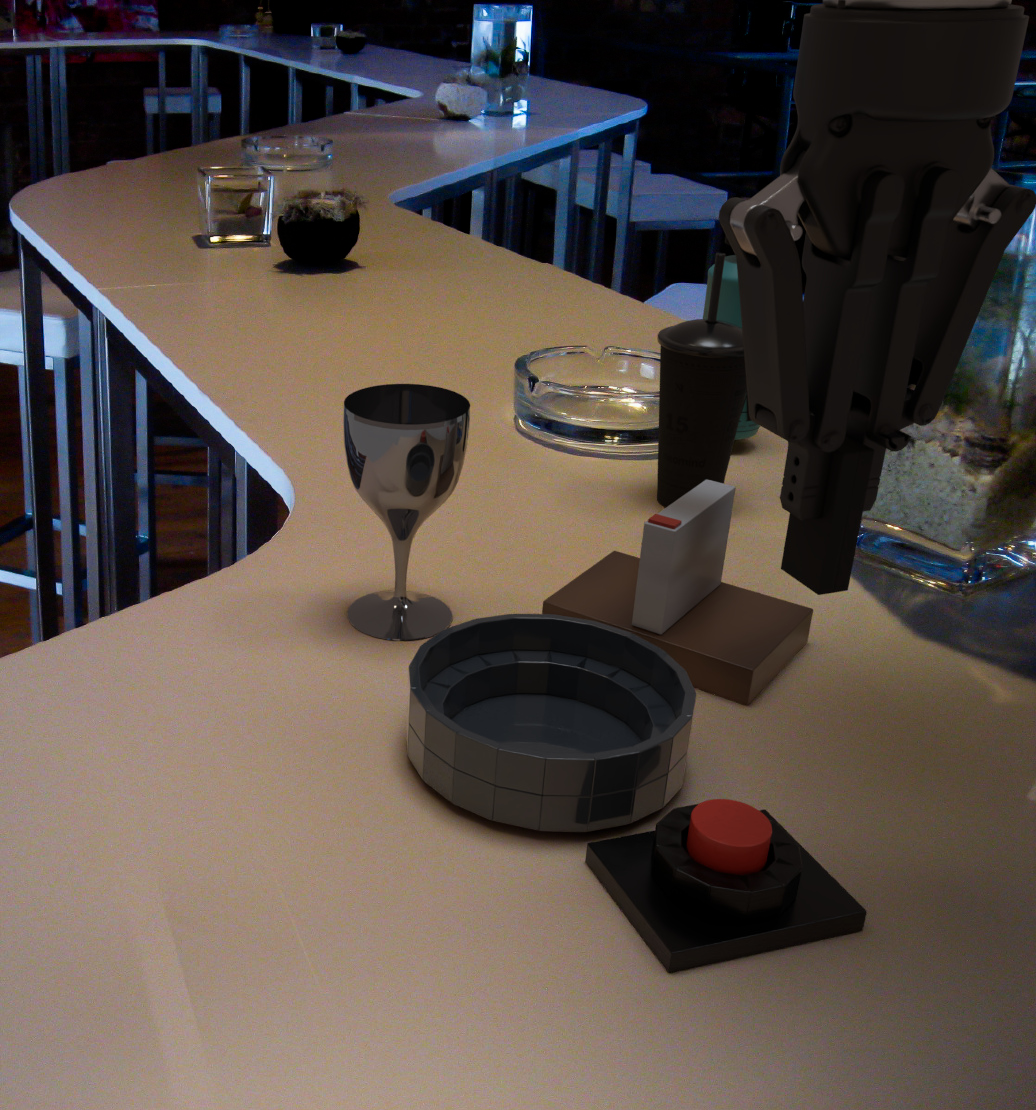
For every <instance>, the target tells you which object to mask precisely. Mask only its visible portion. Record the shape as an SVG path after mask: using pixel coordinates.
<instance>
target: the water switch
mask: <svg viewBox="0 0 1036 1110" xmlns="http://www.w3.org/2000/svg"><path fill="white" fill-rule="evenodd" d="M698 804H699V803H695V804H689V805H685V806H679V807H674V808H673V809H672V810H670V811H669V812H668V813H667V814H666V815H665V816H664V817H662V818H661V819H660V820H659V821H657V822H656V823H655V828H654V830H649V831H648V830H647V831H644V832H638V833H632V834H629V835H623V836H618V837H613V838H612V837H611V838H608V839H602V840H596V841H592V842H587V843H586V850H585V851H586V852H585V861H584V863H585V864H586V866H587V867H588V868H589V870H590V871H591V872H592V873H593V875H594V876H595V878H596V879H597V880H598V881H599V883H600V884H601V885H602V887H603V888H604V889H605V891H606V892H607V893H608V895H609V896H610V897H611V899H612V900H613V902H614V903H615V904H616V906H617V907H618V908H619V909H620V911H621V913H623V916H625V917H626V919H627V921H629V923H630V925H631V926H632V927H633V928H634V930H635V931H636V932H637V934H638V935H639V937H640V938H641V939H642V940H643V941H644V943H645V944H646V945H647V947H648V948H649V949H650V951H651V952H652V953H653V955H654V956H655V958H656V959H657V960H658V961H659V963H660V964H661V966H662V967H663V968H664V969H665V971H666V973H668V974H669V975H670V974H675V973H679V972H684V971H688V970H692V969H698V968H702V967H705V966H710V965H715V964H719V963H724V962H728V961H733V960H739V959H743V958H748V957H752V956H756V955H761V954H765V953H769V952H770V953H771V952H773V951H779V950H783V949H788V948H792V947H796V946H797V947H798V946H802V945H806V944H811V943H814V942H815V943H816V942H820V941H823V940H828V939H834V938H838V937H842V936H847V935H851V934H856V933H860V932H863V931H864V926H865V923H866V918H867V914H868V910H867V909H865V907H864V906H863V905H861V903H859V901H858V900H856V898H855V897H853V896H852V895H851V893H850V892H848V890H847V889H846V888H845V887H843V885H842V884H841V883H840V882H839V881H837V880H836V878H835V877H833V875H831V874H830V873H829V871H827V869H825V868H824V866H822V864H820V863H819V862H818V861H817V860H816V859H815V858H814V856H813V855H812V854H811V853H810V852H808V850H806V848H804V847H803V846H802V844H801V843H800V842H798V840H796V838H795V837H793V836H792V835H791V834H790V832H789V831H788V830H786V829H785V827H783V825H782V824H780V823H779V821H777V820H776V818H774V817H773V816H772V814H770V813H769V812H768V811H767V810H766V809H760V810H759V809H758V810H759V811H760V812H762V813H763V814H764V815H765V816H766V817H767V818H768V820H769V821H770V823H771V826H772V835H771V841H770V846H769V851H768V856H767V861H766V864H765V866H764V867H763V869H762V870H760V871H759V872H755V873H750V874H745V875H737V874H730V873H724V872H717V871H715V870H713V869H711V868H709V867H707V866H705V865H703V864H701V863H698V862H696V861H694V860H693V859H692V857H691V856H690V854H689V853H688V850H687V838H688V832H689V825H690V819H691V813H692V811H693V809H694V808H695V807H696V806H697V805H698Z"/></svg>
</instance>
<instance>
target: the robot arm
mask: <svg viewBox="0 0 1036 1110" xmlns="http://www.w3.org/2000/svg"><path fill="white" fill-rule="evenodd" d="M1012 1H1013V0H822V3H819V4H818V3H817V4H814V5H812V6H811V7H810V11H809V13H805V14H804V15H803V20H802V21H803V22H802V29H801V35H800V41H799V42H800V43H799V48H798V56H797V63H796V71H795V77H794V84H793V90H792V96H793V101H794V104H795V108H796V113H797V125H796V129H795V132H794V135H793V137H792V139H791V141H790V143H789V145H788V147H787V148H786V149H785V151H784V152H783V156H782V157H781V159H780V160H781V161H780V165H779V176H777V178H775V179H774V180H773V181H771V182H770V183H769V184H767V185H766V186H764V187H763V188H762V189H760V191H758V192H757V193H756V194H754V195H753V196H752V197H751V198H749V199H744V198H741V197H731V198H729V199H726V200H725V202H723V204H722V205H721V207H720V209H719V210H718V211H719V212H718V221H719V224H720V226H721V227H722V230H723V232H724V235H725V237H726V236H727V239H728V241H729V243H730V245H731V246H730V245H729V246H730V247H731V249H732V251H733V253H734V255H736V260H737V272H738V284H739V297H740V309H741V321H742V334H743V346H744V358H745V370H746V383H747V395H748V407H749V416H750V419H751V420H752V421H753V422H754V423H756V424H758V425H760V426H761V427H762V428H764V429H765V430H767V431H769V432H770V433H773V434H774V435H776V436H777V437H780V438H781V439H783V440H785V441H787V451H786V456H785V464H784V469H783V477H782V483H781V485H782V486H781V488H780V494H779V501H780V504H781V508H782V509H783V510H784V511H786V512H787V513H789V516H788V523H787V528H786V534H785V541H784V545H783V546H784V547H783V553H782V557H781V558H782V559H781V564H780V570H781V571H783V572H785V573H786V574H788V576H790V577H792V578H793V579H794V580H796V581H797V582H799V583H800V584H802V585H803V586H804V587H806V588H807V589H809V590H810V591H812V592H813V593H815V594H816V595H817V596H822V595H827V594H834V593H840V592H847V591H849V586H850V581H851V576H852V570H853V565H854V560H855V554H856V550H857V545H858V539H859V534H860V528H861V523H862V518H863V513H864V512H869V511H871V510H872V508H873V506H874V505H875V503H876V501H877V499H878V494H879V493H878V492H879V486H880V483H881V477H882V471H883V467H884V462H885V456H886V452H887V450H888V451H890V452H899V451H902V450H903V449H904V448H906V447H907V446H908V444H909V443H910V442H911V438H912V436H911V435H910V434H908V433H906V432H903V431H902V430H903V429H906V428H907V427H909V426H911V425H913V424H915V425H918V426H920V427H924V426H927V425H929V424H931V423H932V422H933V421H934V420H935V419H936V417H937V415H938V413H939V411H940V408H941V407H942V404H943V401H944V398H945V396H946V394H947V391H948V389H949V386H950V384H951V383H952V380H953V377H954V374H955V372H956V370H957V367H958V365H959V363H960V360H961V357H962V355H963V353H964V351H965V348H966V345H967V343H968V340H969V338H970V336H971V333H972V331H973V330H974V326H975V324H976V321H977V319H978V316H979V313H980V312H981V309H982V307H983V304H984V302H985V299H986V297H987V295H988V292H989V290H990V287H991V285H992V283H993V280H994V278H995V276H996V273H997V270H998V268H999V265H1000V263H1001V262H1002V258H1003V256H1004V254H1005V251H1006V249H1007V248H1008V247H1009V246H1010V244H1011V243H1012V241H1013V240H1014V238H1016V236H1017V234H1018V233H1019V232H1020V230H1021V229H1022V228H1023V227H1024V225H1025V224H1026V222H1027V221H1028V219H1029V218H1030V216H1031V215H1032V214H1033V213H1034V210H1035V209H1036V192H1035V190H1033V189H1031V188H1027V187H1023V186H1017V185H1013V184H1009V182H1007V180H1006V179H1004V178H1003V177H1002V176H1001V175H1000V174H998V172H996V171H995V170H994V169H993V168H992V166H993V163H994V159H995V147H994V143H993V137H992V130H991V124H992V123H991V122H992V119H993V117H995V116H996V115H999V114H1000V113H1003V111H1005V110H1006V109H1007V108H1008V106H1009V105H1010V104H1011V102H1012V99H1013V95H1014V90H1015V86H1016V81H1017V76H1018V72H1019V66H1020V63H1021V57H1022V52H1023V47H1024V43H1025V39H1026V34H1027V29H1028V25H1029V19H1030V16H1029V15H1028V14H1027V15H1026V14H1025V7H1024V6H1022V5H1019V4H1012ZM798 218H799V219H800V222H801V224H802V226H803V227H802V226H801V225H799V219H798ZM803 228H804V229H803ZM803 230H805V235H804V242H803V248H802V256H801V259H800V255H799V251H798V248H797V245H796V241H798V240H800V239H801V238H802V236H803V233H804V232H803ZM802 270H803V272H804V273H805V276H806V281H805V288H804V290H803V278H802V277H803V275H802ZM803 291H804V292H803ZM913 386H915V387H914V389H912V387H913Z"/></svg>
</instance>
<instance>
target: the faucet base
mask: <svg viewBox="0 0 1036 1110" xmlns="http://www.w3.org/2000/svg"><path fill="white" fill-rule="evenodd" d="M639 561H640V557H638V556H634V555H631V554H628V553H625V552H621V551H617V550H613V551H611V552H610V553H609V554H607V555H606V556H604V557H603V558H602V559H600V560H599V561H597V562H596V563H595V564H593V565H592V566H590V567H589V568H587V569H586V570H585V571H584V572H581V573H580V574H579V575H577V576H576V577H575V578H573V579H572V580H571V581H569V582H568V583H567V584H565V585H564V586H562V587H561V588H560V589H558V590H557V591H555V592H554V593H552V594H551V595H550V596H548V597H547V598H545V599H544V600H543V601H542V608H541V609H542V611H541V614H555V615H561V616H567V617H574V618H580V619H586V620H592V621H597V622H600V623H603V624H606V625H609V626H612V627H615V628H618V629H622V630H625V631H628V632H631V633H633V634H635V635H636V636H638V637H640V638H642V639H644V640H646V641H648V642H649V643H651V644H653V645H655V646H657V647H659V648H661V649H662V650H664V651H665V652H666V653H667V654H668V655H669V656H671V657H672V658H673V659H674V660H675V661H676V662H677V663H678V664H679V665H680V666H681V667H682V668H684V669H685V671H686V672H687V674H688V676H689V679H690V681H691V683H692V685H693V688H694V689H696V690H699V691H701V692H702V691H703V692H705V693H708V692H709V694H711V695H714V694H715V695H714V696H717V697H718V698H719V697H720V698H723V699H725V700H727V701H731V702H734V703H737V704H740V705H743V706H746V707H747V706H749V704H751V702H752V701H753V700H754V699H756V697H757V696H758V695H759V694H761V692H762V691H763V689H765V688H766V687H767V686H768V684H770V683H771V682H772V680H773V679H774V678H775V677H776V676H777V675H778V674H779V673H780V672H781V671H782V670H783V669H784V668H785V667H786V665H788V663H789V662H790V661H792V659H793V658H794V657H795V656H796V655H797V654H798V653H799V652H800V651H801V649H803V647H804V646H805V645H806V644H807V643H808V640H809V635H810V631H811V624H812V620H813V616H814V615H813V614H814V608H811V607H808V606H805V605H802V604H798V603H795V602H791V601H789V600H786V599H781V598H778V597H774V596H771V595H767V594H764V593H760V592H758V591H754V590H750V589H748V588H744V587H740V586H737V585H733V584H730V583H726V582H723V581H721V584H720V585H719V586H718V587H717V588H715V589H714V590H713V591H712V592H711V593H710V594H708V595H707V596H706V597H705V598H704V599H702V600H701V601H700V602H699V603H698V604H697V605H695V606H694V607H693V608H692V609H691V610H690V611H688V612H687V613H686V614H685V615H684V616H683V617H681V618H680V619H679V620H678V621H677V622H675V623H674V624H673V625H672V626H671V627H670V628H668V629H667V630H666V631H665V632H664V633H663V634H657V633H654V632H651V631H648V630H645V629H642V628H639V627H636V626H633V625H632V618H633V610H634V602H635V594H636V586H637V578H638V570H639ZM780 670H781V671H780Z"/></svg>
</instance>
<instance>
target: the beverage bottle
mask: <svg viewBox="0 0 1036 1110" xmlns="http://www.w3.org/2000/svg"><path fill="white" fill-rule="evenodd" d="M724 244H726V245H727V246H730V247H731V245H730V243H729V241H728V239H727V236H726V235H725V237H724ZM714 265H715V263H714V264H712V266H710V268H708V271H707V281H706V282H707V283H706V291H705V298H704V306H703V313H702V319H707V317H708V309H709V302H710V294H711V287H712V280H713V272H714ZM716 320H721V321H726V322H730V323H732V324H735V325H738V326H740V327H741V328H742V321H741V309H740V297H739V284H738V272H737V260H736V255H735V254H732V255H731V254H730V255H725V261H724V268H723V275H722V283H721V290H720V297H719V305H718V312H717V319H716ZM761 427H762V426H760V425H758V424H756V423H754V422H753V421H752V420H751V419H750V416H749V407H748V395H747V391H746V395H745V399H744V403H743V407H742V411H741V416H740V420H739V424H738V428H737V432H736V436H735V440H736V441H737V440H745V439H750V438H752V437H754V436H756V435H757V433H758V431H759V430H760V428H761ZM735 440H734V441H735Z"/></svg>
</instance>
